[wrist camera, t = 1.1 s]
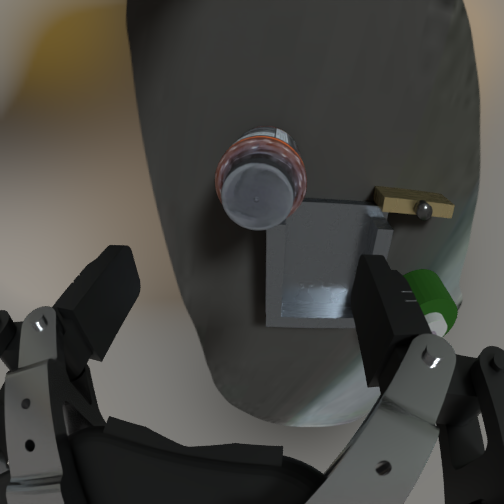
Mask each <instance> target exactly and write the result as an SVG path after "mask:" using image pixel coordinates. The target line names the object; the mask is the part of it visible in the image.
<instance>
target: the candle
mask: <svg viewBox="0 0 504 504" xmlns="http://www.w3.org/2000/svg"><path fill="white" fill-rule="evenodd" d="M403 277H404V278H405V279H407V281H408V283H409V285H410V287H411V289H412V293H414V295H415V297H416V299H417V300H416V301H417V302H418V303H419V305H420V307H421V309H422V312H423V314H424V316H425V318H426V320H427V323H428V325H429V327H430V329H431V332H432V334H434V335H438V336H440V337H443V336H444V335H446V334H447V333H448V332H449V330H450V329H451V328H452V326H453V325H454V323H455V320H456V318H457V313H458V312H457V307H456V304H455V303H454V301H453V299H452V298H451V296H450V294H449V293H448V291H447V289H446V288H445V286H444V285H443V283H442V281H441V280H440V278H439V277H438V275H437V274H436V273H434V272H433V271H430V270H427V269H420V270H415V271H412V272H409V273H407V274H405V275H403Z"/></svg>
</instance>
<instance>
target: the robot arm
mask: <svg viewBox="0 0 504 504" xmlns="http://www.w3.org/2000/svg"><path fill="white" fill-rule="evenodd" d="M139 293H140V279H139V275H138V272H137V268H136V265H135V261H134V258H133V254H132V251H131V248H130V247H129V246H124V245H109V246H108V247H107V248H106V249H105V250H104V251H103V252H102V253H101V254H100V256H99V257H98V258H97V259H95V260H94V261H92V262H91V263H89V264H88V265H87V266H86V267H85V268H84V270H82V272H81V273H80V276H79V275H78V276H77V277H76V279H75V280H74V283H71V284H70V286H69V287H68V288H67V289H66V290H65V292H64V293H63V294H62V295H61V297H60V298H59V299H58V300H57V302H56V303H55V304H54V306H53V307H48V306H45V307H40V308H37V309H35V310H33V311H32V312H31V313H30V314H28V316H27V317H26V318H25V320H24V321H23V322H13V320H12V319H11V317H10V315H9V314H8V312H7V311H5V310H0V358H1V360H2V361H3V362H4V364H6V366H7V367H8V368H9V370H10V371H8V372H7V373H6V377H5V382H4V384H3V386H2V388H1V390H0V504H404V502H405V500H406V499H407V497H408V496H409V494H410V492H411V490H412V489H413V487H414V485H415V483H416V482H417V480H418V478H419V476H420V474H421V472H422V470H423V468H424V467H425V465H426V463H427V461H428V458H429V457H430V454H431V452H432V450H433V448H434V445H435V443H436V441H437V438H438V437H439V444H440V451H441V459H442V467H443V479H444V494H445V504H504V350H502V349H500V348H499V347H495V346H489V347H486V348H485V349H483V351H482V352H481V353H480V355H479V356H478V358H473V357H466V356H461V355H457V354H455V351H454V349H453V348H452V346H451V345H450V344H449V343H448V342H447V341H446V340H445V339H444V338H442V337H440V336H438V335H434V334H432V332H431V329H430V327H429V325H428V323H427V320H426V318H425V316H424V314H423V312H422V309H421V307H420V305H419V303H418V302H417V301H416V300H417V299H416V297H415V295H414V293H412V289H411V287H410V285H409V283H408V281H407V279H405V278H404V277H403V276H402V275H401V274H400V273H399V272H398V271H397V270H391V269H390V267H389V265H388V263H387V261H386V259H385V257H384V256H383V255H370V254H362V255H361V256H360V258H359V261H358V266H357V270H356V275H355V279H354V283H353V288H352V292H351V309H352V314H353V318H354V322H355V327H356V331H357V336H358V340H359V345H360V350H361V355H362V360H363V365H364V370H365V376H366V381H367V387H380V392H381V395H380V396H379V398H378V399H377V401H376V403H375V404H374V406H373V408H372V409H371V411H370V412H369V414H368V415H367V417H366V418H365V420H364V421H363V423H362V425H361V426H360V427H359V429H358V430H357V432H356V433H355V435H354V436H353V437H352V439H351V440H350V442H349V443H348V444H347V445H346V447H345V448H344V449H343V450H342V452H341V453H340V454H339V455H338V457H337V458H336V459H335V460H334V462H333V463H332V464H331V465H330V466H329V468H328V469H327V470H326V471H325V472H324V474H323V473H321V472H320V471H318V470H317V469H315V468H314V467H312V466H310V465H308V464H306V463H304V462H302V461H299V460H297V459H294V458H291V457H287V456H283V446H265V445H250V444H239V443H232V444H223V445H213V446H212V445H211V446H196V447H187V446H183V445H180V444H178V443H176V442H174V441H172V440H170V439H168V438H166V437H164V436H162V435H160V434H158V433H156V432H154V431H152V430H150V429H149V428H147V427H144V426H140V425H137V424H133V423H130V422H126V421H123V420H120V419H117V418H114V417H111V416H109V418H108V420H107V423H106V422H105V421H104V419H103V417H102V415H101V413H100V411H99V408H98V404H97V400H96V396H95V391H94V387H93V383H92V378H91V373H90V368H89V366H88V365H87V362H88V360H89V358H90V359H93V360H97V361H101V362H102V361H103V359H104V357H105V355H106V353H107V351H108V349H109V347H110V345H111V344H112V342H113V340H114V338H115V336H116V334H117V333H118V331H119V329H120V327H121V325H122V323H123V322H124V320H125V318H126V317H127V315H128V313H129V311H130V310H131V308H132V306H133V304H134V303H135V301H136V299H137V297H138V296H139ZM480 413H482V417H483V421H484V425H485V430H486V434H487V440H488V443H487V448H486V450H484V444H483V439H482V434H481V430H480V425H479V421H478V417H477V416H478V415H479V414H480ZM435 423H436V425H437V426H435ZM8 461H9V464H7V462H8Z"/></svg>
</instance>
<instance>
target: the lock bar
mask: <svg viewBox="0 0 504 504" xmlns="http://www.w3.org/2000/svg"><path fill="white" fill-rule="evenodd" d="M373 200H374V201H375V203H376V204H377V205H378V207H379V208H380V209H381V211H382V212H392V213H404V214H415V215H417V216H418V217H419V218H420V219H421V220H423V221H425V220H428V219H429V218H430V217H431V216H435V217H444V218H452V214H453V210H454V206H455V205H454V204H453V203H451V202H450V201H449V200H448V199H447V198H445V197H444V196H443V195H442V194H437V193H430V192H423V191H415V190H407V189H398V188H389V187H379V186H375V190H374V197H373Z"/></svg>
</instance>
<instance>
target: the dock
mask: <svg viewBox="0 0 504 504" xmlns="http://www.w3.org/2000/svg"><path fill="white" fill-rule="evenodd" d="M387 217H388V212H382V211H381V209H380V208H379V207H378V205H377V204H376V203H375V202H363V201H349V200H332V199H313V198H304V199H303V201H302V203H301V205H300V206H299V207H298V209H297V210H296V211H295V212H294V213H293V214H292V215H290V216H289V217H288V218H286V219H285V220H284V221H283V222H282V223H280V224H279V225H277V226H275V227H273V228H271V229H267V230H266V311H265V312H266V326H267V327H294V328H356V327H355V322H354V318H353V314H352V309H351V292H352V288H353V283H354V279H355V275H356V270H357V266H358V261H359V258H360V256H361V255H362V254H370V255H383V256H384V257H385V259H386V260H387V256H388V252H389V248H390V244H391V239H392V235H393V231H394V230H393V228H392V227H391V225H390V224H389V223H388V221H387Z"/></svg>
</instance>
